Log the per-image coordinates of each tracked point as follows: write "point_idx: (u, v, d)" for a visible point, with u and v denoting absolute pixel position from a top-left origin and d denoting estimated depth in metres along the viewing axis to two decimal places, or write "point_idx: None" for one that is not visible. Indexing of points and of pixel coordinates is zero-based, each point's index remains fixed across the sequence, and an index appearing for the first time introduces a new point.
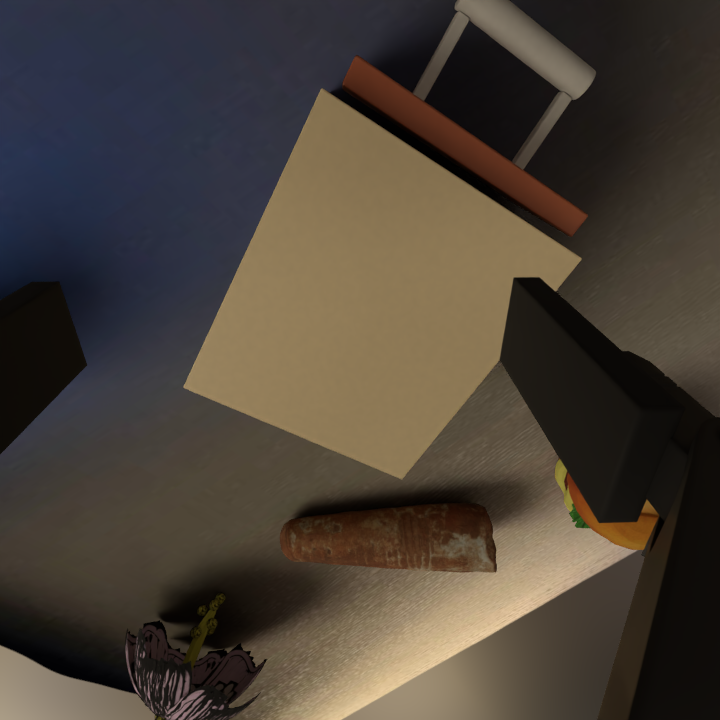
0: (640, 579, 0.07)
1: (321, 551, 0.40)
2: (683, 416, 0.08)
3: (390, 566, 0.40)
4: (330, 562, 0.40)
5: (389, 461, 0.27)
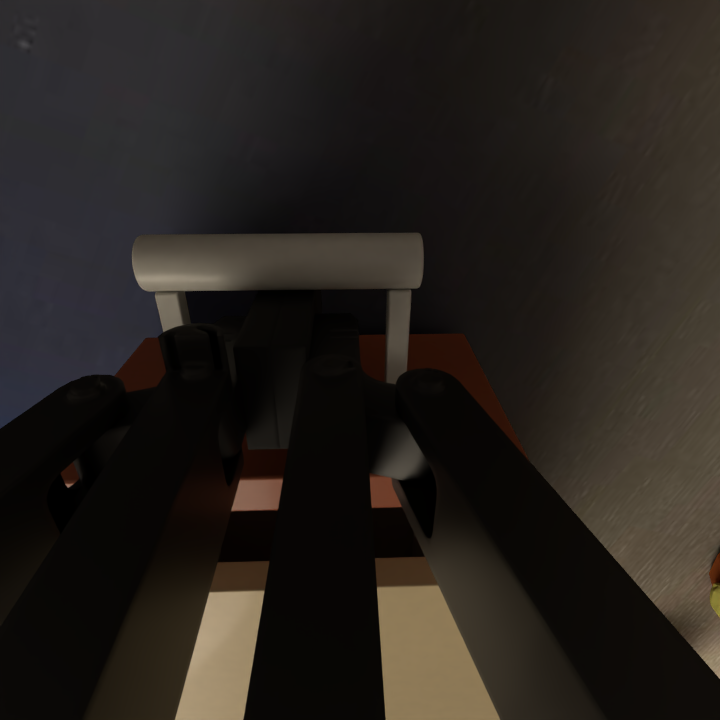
0: None
1: None
2: None
3: None
4: None
5: None
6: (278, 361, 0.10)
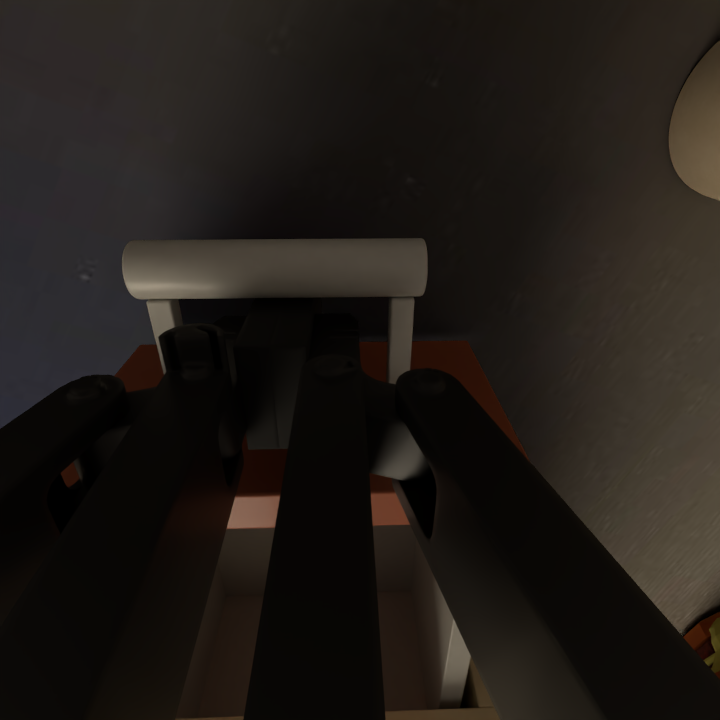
0: None
1: None
2: None
3: None
4: None
5: None
6: (278, 361, 0.10)
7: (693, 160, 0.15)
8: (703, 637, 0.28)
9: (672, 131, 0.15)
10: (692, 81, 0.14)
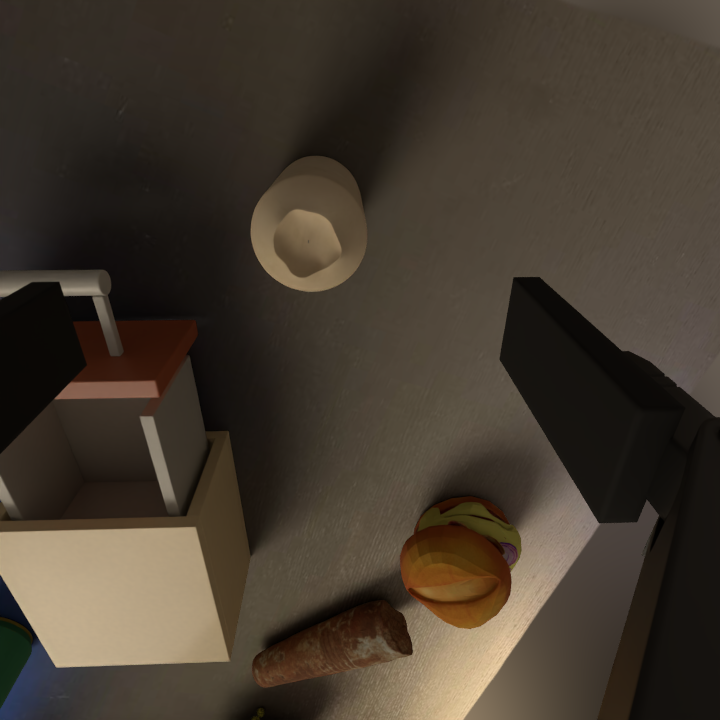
0: (640, 579, 0.07)
1: (278, 678, 0.49)
2: (682, 416, 0.08)
3: (332, 673, 0.48)
4: None
5: (210, 656, 0.37)
6: (645, 425, 0.08)
7: None
8: (419, 523, 0.42)
9: None
10: None
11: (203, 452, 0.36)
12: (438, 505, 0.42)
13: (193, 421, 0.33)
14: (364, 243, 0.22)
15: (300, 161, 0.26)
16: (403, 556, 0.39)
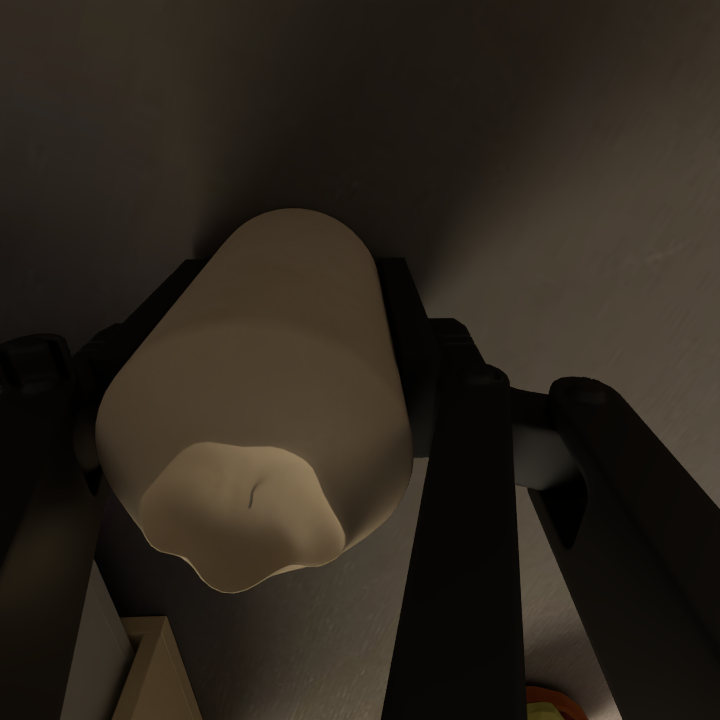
0: None
1: None
2: None
3: None
4: None
5: None
6: (412, 368, 0.09)
7: None
8: None
9: None
10: None
11: (120, 669, 0.22)
12: None
13: (93, 641, 0.20)
14: (405, 479, 0.08)
15: (255, 229, 0.12)
16: None
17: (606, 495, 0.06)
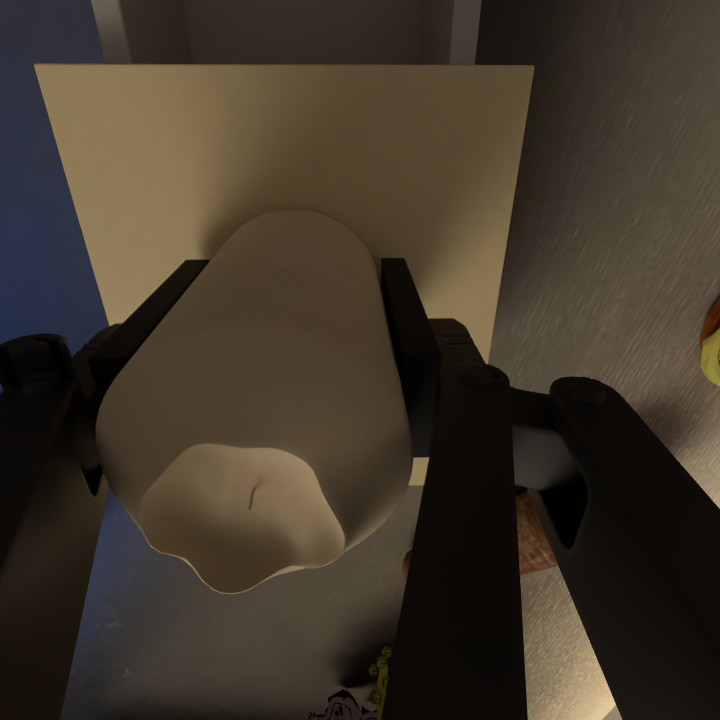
0: None
1: None
2: None
3: (541, 568, 0.32)
4: None
5: None
6: (412, 369, 0.09)
7: None
8: None
9: None
10: None
11: None
12: None
13: None
14: (405, 480, 0.08)
15: (256, 230, 0.12)
16: None
17: (606, 495, 0.06)
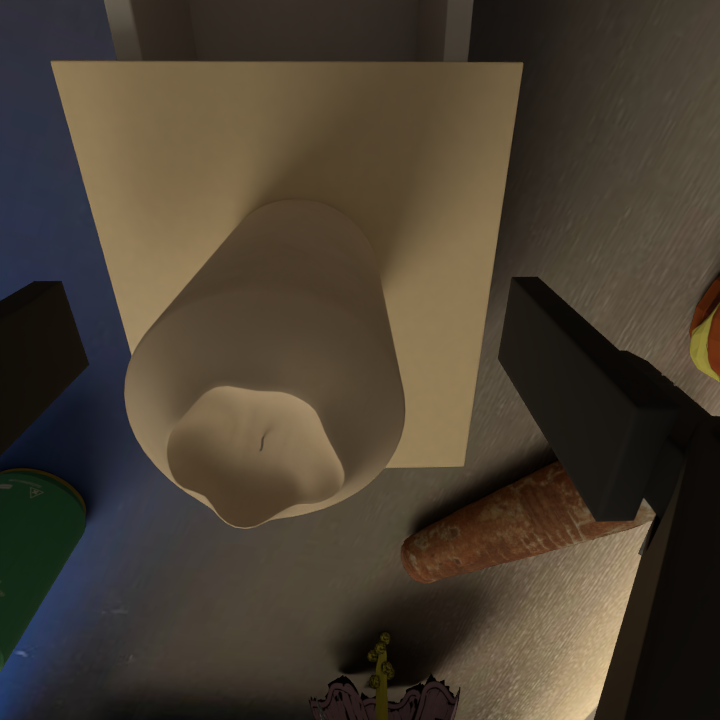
0: (637, 578, 0.07)
1: (449, 563, 0.34)
2: (679, 415, 0.08)
3: (536, 553, 0.32)
4: (466, 571, 0.34)
5: (434, 452, 0.21)
6: (641, 424, 0.08)
7: None
8: None
9: None
10: None
11: None
12: None
13: None
14: (398, 431, 0.09)
15: (263, 216, 0.13)
16: None
17: None
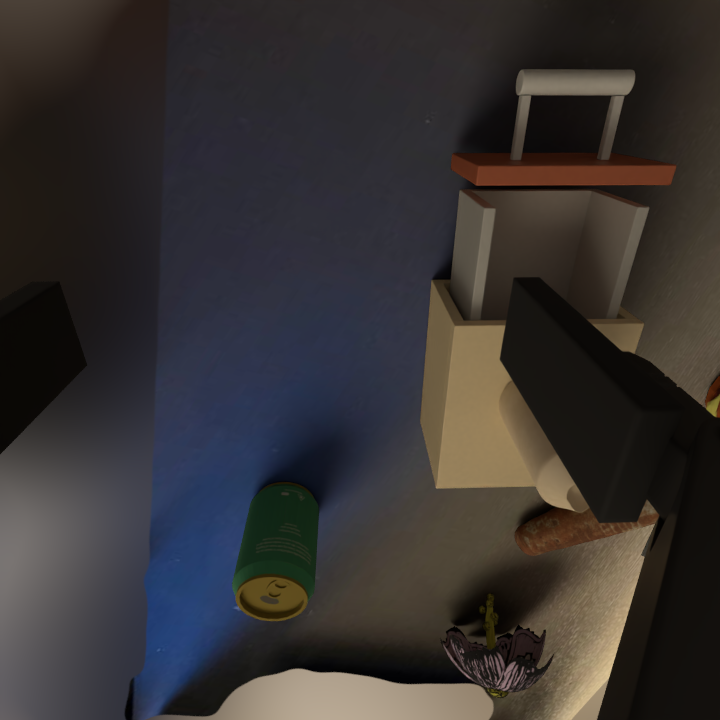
0: (640, 579, 0.07)
1: (552, 542, 0.53)
2: (683, 416, 0.08)
3: (608, 535, 0.52)
4: (561, 547, 0.54)
5: None
6: (644, 424, 0.08)
7: None
8: None
9: (499, 409, 0.36)
10: (503, 395, 0.35)
11: None
12: None
13: None
14: None
15: None
16: None
17: None
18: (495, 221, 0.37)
